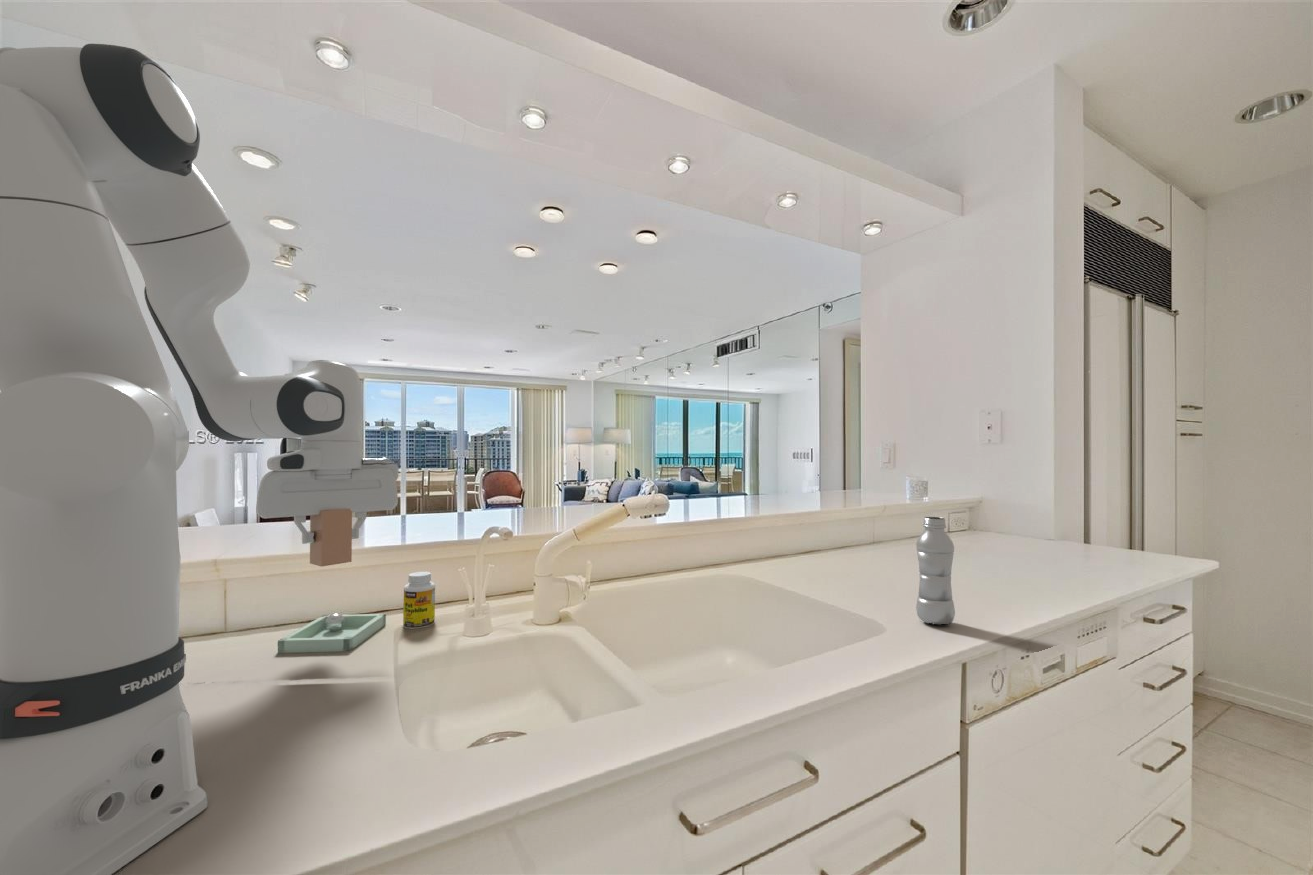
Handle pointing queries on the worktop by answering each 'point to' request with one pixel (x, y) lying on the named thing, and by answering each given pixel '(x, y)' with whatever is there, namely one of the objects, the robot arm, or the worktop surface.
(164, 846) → the worktop surface
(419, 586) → the supplement bottle
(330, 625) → the mixing ball
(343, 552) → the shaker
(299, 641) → the tray
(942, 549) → the plastic bottle
